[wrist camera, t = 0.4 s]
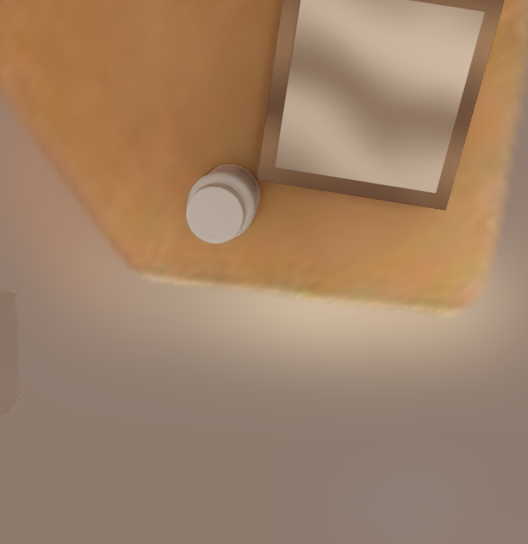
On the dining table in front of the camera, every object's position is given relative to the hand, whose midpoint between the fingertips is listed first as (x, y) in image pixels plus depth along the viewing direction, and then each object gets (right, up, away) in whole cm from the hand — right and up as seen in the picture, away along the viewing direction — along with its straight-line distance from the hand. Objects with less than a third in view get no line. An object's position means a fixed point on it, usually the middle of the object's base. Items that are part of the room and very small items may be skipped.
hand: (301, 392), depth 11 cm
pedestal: (+6, +15, +22) cm, 27 cm away
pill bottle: (-3, +8, +25) cm, 26 cm away
